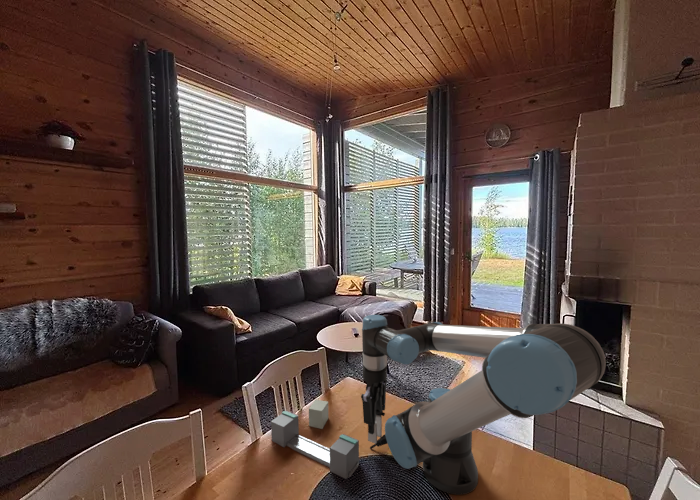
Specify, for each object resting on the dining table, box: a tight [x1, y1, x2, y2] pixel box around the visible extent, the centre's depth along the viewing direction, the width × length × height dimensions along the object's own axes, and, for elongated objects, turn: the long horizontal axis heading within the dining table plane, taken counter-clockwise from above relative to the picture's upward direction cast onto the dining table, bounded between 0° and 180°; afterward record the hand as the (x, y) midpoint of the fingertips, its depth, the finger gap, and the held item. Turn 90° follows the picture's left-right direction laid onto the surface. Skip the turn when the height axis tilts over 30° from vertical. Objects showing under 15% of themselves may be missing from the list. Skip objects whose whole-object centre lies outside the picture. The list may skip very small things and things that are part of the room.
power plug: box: [369, 434, 388, 450], centre depth 95 cm, size 6×8×12 cm
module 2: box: [308, 399, 329, 430], centre depth 109 cm, size 5×6×7 cm
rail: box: [285, 434, 360, 478], centre depth 95 cm, size 30×5×1 cm, turn 58°
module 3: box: [329, 433, 360, 480], centre depth 89 cm, size 6×7×7 cm
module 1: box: [270, 410, 300, 448], centre depth 101 cm, size 6×7×7 cm
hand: (374, 438), depth 96 cm, fingers open, 3 cm apart
